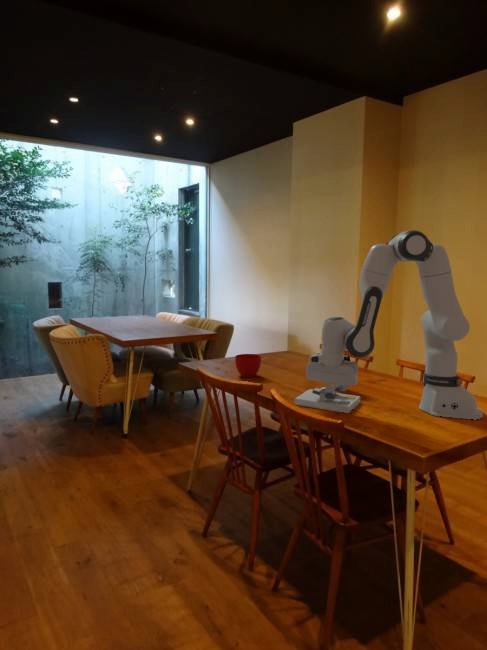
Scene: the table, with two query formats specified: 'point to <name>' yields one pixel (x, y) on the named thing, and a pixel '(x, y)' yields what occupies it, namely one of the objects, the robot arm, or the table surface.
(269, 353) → the table surface
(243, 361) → the ceramic cup
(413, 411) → the table surface
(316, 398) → the switch unit
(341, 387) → the rocker back
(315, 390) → the rocker front
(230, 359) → the table surface
